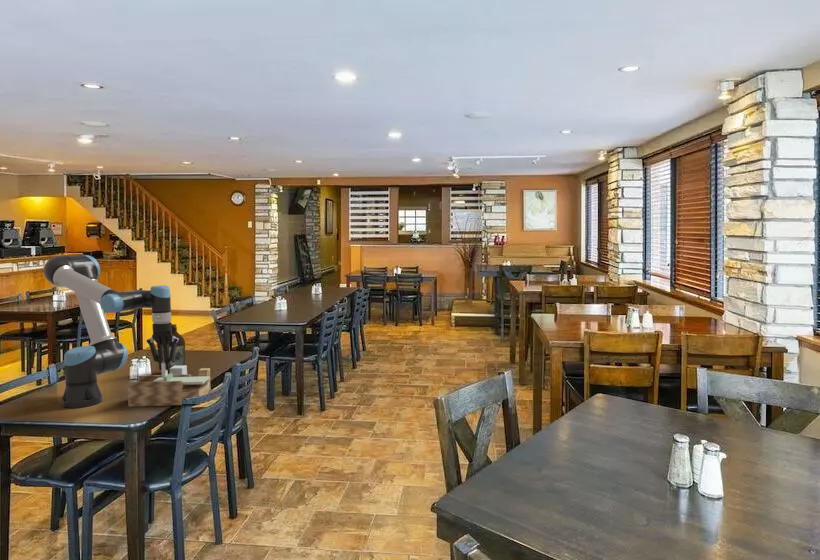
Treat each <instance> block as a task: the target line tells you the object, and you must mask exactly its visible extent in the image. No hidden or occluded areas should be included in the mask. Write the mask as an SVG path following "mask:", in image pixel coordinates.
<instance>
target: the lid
mask: <svg viewBox="0 0 820 560" xmlns="http://www.w3.org/2000/svg"><path fill="white" fill-rule="evenodd" d="M208 379H209V376H200V377H198V376H191V377H173V373H169V374H168V375H166V376H165V377H164V378H162V377H159V378H157V379H156V380H154V381H182V385H184V384H203V383H205V382H206V381H207V380H208Z"/></svg>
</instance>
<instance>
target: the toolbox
mask: <svg viewBox="0 0 820 560" xmlns="http://www.w3.org/2000/svg"><path fill="white" fill-rule="evenodd" d="M159 377H162V374H159V375H158V374H157V375H156V374H154V375H150V374H149V375H138V377H137V378H138V381H128V382H127V383H126V384H127V401H128V402H127V403H128V407H148V406H149V407H157V406H159V407H161V406H183V405H182V401H183V400H184V399H185V398H192V397H198V396H202V395H205V394H208V395H209V392H208V382H205V383H203V384H184V385H182V381H154V380H156V379H157V378H159ZM173 377H192V375H191V374H188V373H187V374H186V375H173ZM201 404H202V403H200V404H196V405H201Z"/></svg>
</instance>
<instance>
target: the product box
mask: <svg viewBox="0 0 820 560" xmlns="http://www.w3.org/2000/svg"><path fill="white" fill-rule="evenodd" d="M170 373H173V375H186V374H188V366H187V365H186V364H185V365H184V366H173V367H171V368H170Z"/></svg>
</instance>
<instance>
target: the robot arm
mask: <svg viewBox="0 0 820 560" xmlns="http://www.w3.org/2000/svg"><path fill="white" fill-rule="evenodd" d="M100 272H101V266H100V264H99V262H98V260H97V259H96V258H95V257H94V256H91V255H87V254H77V255H76V254H74V255H72V254H71V255H57V256H54V257H51V258H50V259H48V260H47V261H46V262H45V264H44V266H43V274H44V275H43V276H44V278H45V279H46V280H47V281H48V282H49V283H51V284H52V285H54V286H56V287H59V288H67V289H68V290H69V291H73V292H74V293H75V297H76V300H77V302H78V306H79V309H80V312H81V316H82V318H83V322H84V325H85V327H86V330H87V334H88V336H89V337H88V338H89V340H90V343H89V345H82V346H76V347H73V348H70V349H68V350H67V351H65V353H64V355H63V365H64V378H65V389H64V392H63V395H62V398H61V406H62V407H63V408H66V407H67V409H75V408H76V409H78V408H79V409H80V408H85V407H90V406H94V405H98V404H100V403H102V402H103V400H104V399H103V393H102V390H101V389H100V387H99V384H98V377H97V376H98V375H102V374H105V373H109V372H113V371H116V370H118V369H119V370H120V369H121V368H123V367H124V366H125V364H126V363H127V360H128V354H129V353H128V352H129V351H128V350H127V347H126V345H125V344H123V343H122V342H119V341H118V338H117V336H114V335H113V334H112V333H111V332H112V331H111V329H110V326H109V323H108V320H107V317H106V313H108V314H109V313H110V314H112V313H115V314H116V313H120V312H125V311H133V310H137V309H151V318H152V319H151V322H152V325H151V326H152V335H151V337H150V338H148V339H146V343H147V344H148V345H149V349H150V352H151V355H152V357H153V362H157V363H158V369H159V371H161V375H162V378H164V377H165V376H166V375H168V370H169V368H170V365H169V362H170V361H172V360H173V359H174V356H175V350H176V345H177V342H178V341H179V338H176V337H174V336H173V333H172V324H173V323H172V321H173V319H172V306H171V305H172V303H171V290H170V286H169V285H164V284H163V285H153V286H150V289H149V290H145V289H143V290H142V289H133V290H131V291H125V292H123V291H122V292H119V291H117V290H115V289H113V288H110V287H108V286H106V285H104V284H102V283H100V282H99V280H98V278H99V277H100V275H101V273H100ZM171 339H172V342H173V343H172V347H171V352H170V357H169V342H170V341H171ZM155 343H156V344H155ZM163 346H164V352H163ZM164 358H165V362H164Z"/></svg>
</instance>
